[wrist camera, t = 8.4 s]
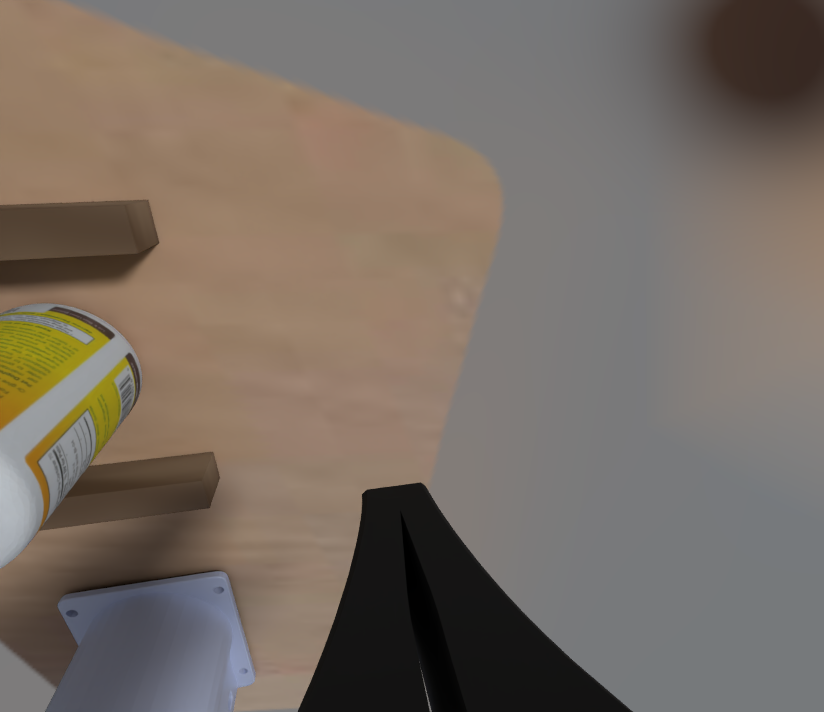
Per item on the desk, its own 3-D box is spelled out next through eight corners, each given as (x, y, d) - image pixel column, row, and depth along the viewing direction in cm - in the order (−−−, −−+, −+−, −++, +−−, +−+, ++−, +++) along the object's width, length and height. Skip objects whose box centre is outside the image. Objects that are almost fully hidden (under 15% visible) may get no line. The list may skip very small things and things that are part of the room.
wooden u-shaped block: (219, 477, 21) (209, 507, 19) (-43, 510, 19) (-81, 546, 17) (147, 199, 16) (124, 205, 14) (-222, 213, 14) (-302, 221, 12)
